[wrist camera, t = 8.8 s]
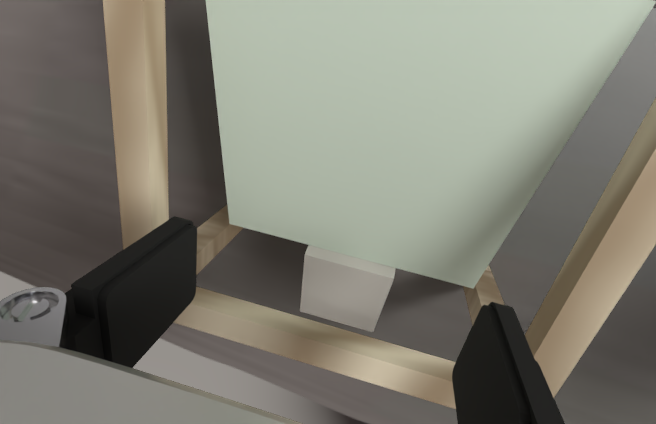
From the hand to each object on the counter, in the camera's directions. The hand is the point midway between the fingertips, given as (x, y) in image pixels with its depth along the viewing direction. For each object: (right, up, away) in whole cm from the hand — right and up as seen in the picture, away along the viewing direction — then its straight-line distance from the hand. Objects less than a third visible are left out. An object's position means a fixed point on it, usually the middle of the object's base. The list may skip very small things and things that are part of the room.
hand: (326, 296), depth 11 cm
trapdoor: (+2, +7, +4) cm, 8 cm away
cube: (+2, +1, +10) cm, 10 cm away
